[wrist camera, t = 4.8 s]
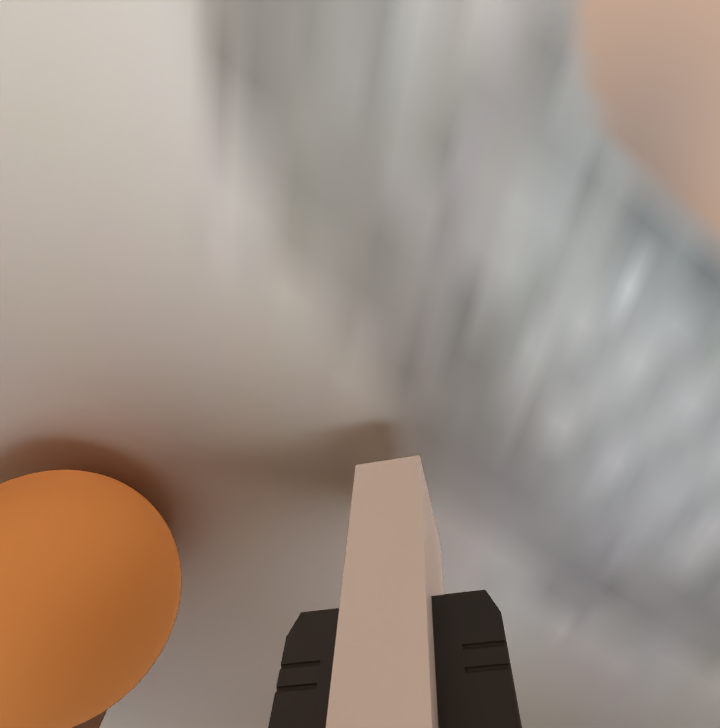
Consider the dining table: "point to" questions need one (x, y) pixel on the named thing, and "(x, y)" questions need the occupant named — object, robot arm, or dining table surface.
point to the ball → (79, 595)
